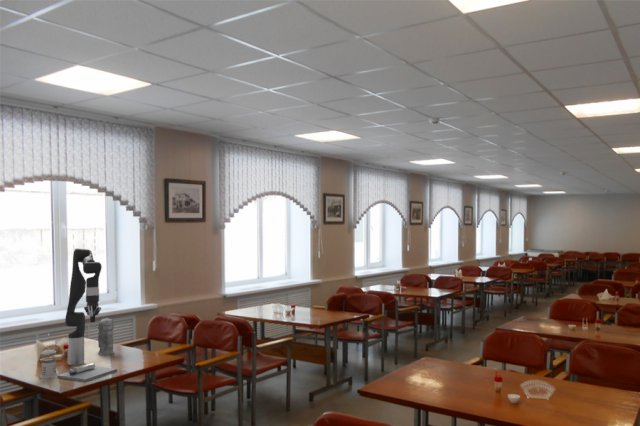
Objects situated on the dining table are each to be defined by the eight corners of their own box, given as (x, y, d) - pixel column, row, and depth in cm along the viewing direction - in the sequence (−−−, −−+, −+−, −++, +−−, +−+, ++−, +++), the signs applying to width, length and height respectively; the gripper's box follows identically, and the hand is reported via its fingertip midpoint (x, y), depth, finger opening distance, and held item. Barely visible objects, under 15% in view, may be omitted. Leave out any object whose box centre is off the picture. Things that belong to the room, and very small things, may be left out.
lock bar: (72, 374, 293) (72, 370, 293) (67, 373, 295) (67, 369, 295) (95, 367, 308) (95, 363, 308) (91, 366, 309) (91, 363, 309)
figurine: (110, 350, 361) (109, 315, 362) (115, 354, 349) (115, 318, 350) (95, 353, 355) (95, 317, 356) (100, 356, 344) (100, 319, 344)
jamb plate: (57, 377, 294) (57, 370, 294) (90, 367, 315) (89, 360, 315) (85, 381, 285) (85, 373, 285) (117, 371, 306) (116, 363, 306)
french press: (40, 379, 293) (40, 335, 294) (38, 374, 302) (37, 332, 303) (59, 375, 299) (59, 333, 299) (56, 371, 308) (56, 330, 309)
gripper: (79, 294, 312) (80, 322, 312) (95, 295, 307) (95, 324, 306) (89, 293, 319) (90, 320, 318) (105, 293, 314) (105, 321, 313)
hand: (92, 322), depth 312 cm, fingers closed
